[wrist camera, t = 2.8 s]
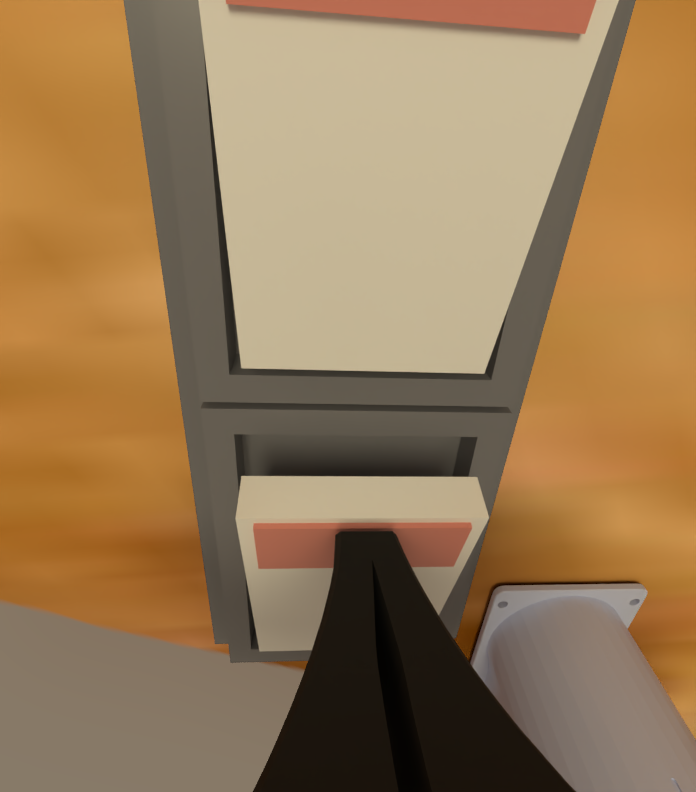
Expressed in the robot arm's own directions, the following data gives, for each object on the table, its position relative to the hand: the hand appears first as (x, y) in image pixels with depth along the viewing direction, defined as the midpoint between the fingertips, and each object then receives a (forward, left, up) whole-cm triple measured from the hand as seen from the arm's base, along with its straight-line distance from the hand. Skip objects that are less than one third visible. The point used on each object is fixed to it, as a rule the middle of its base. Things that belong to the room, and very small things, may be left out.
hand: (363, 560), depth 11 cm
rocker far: (-3, 0, -2) cm, 4 cm away
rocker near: (+8, 0, -2) cm, 8 cm away
